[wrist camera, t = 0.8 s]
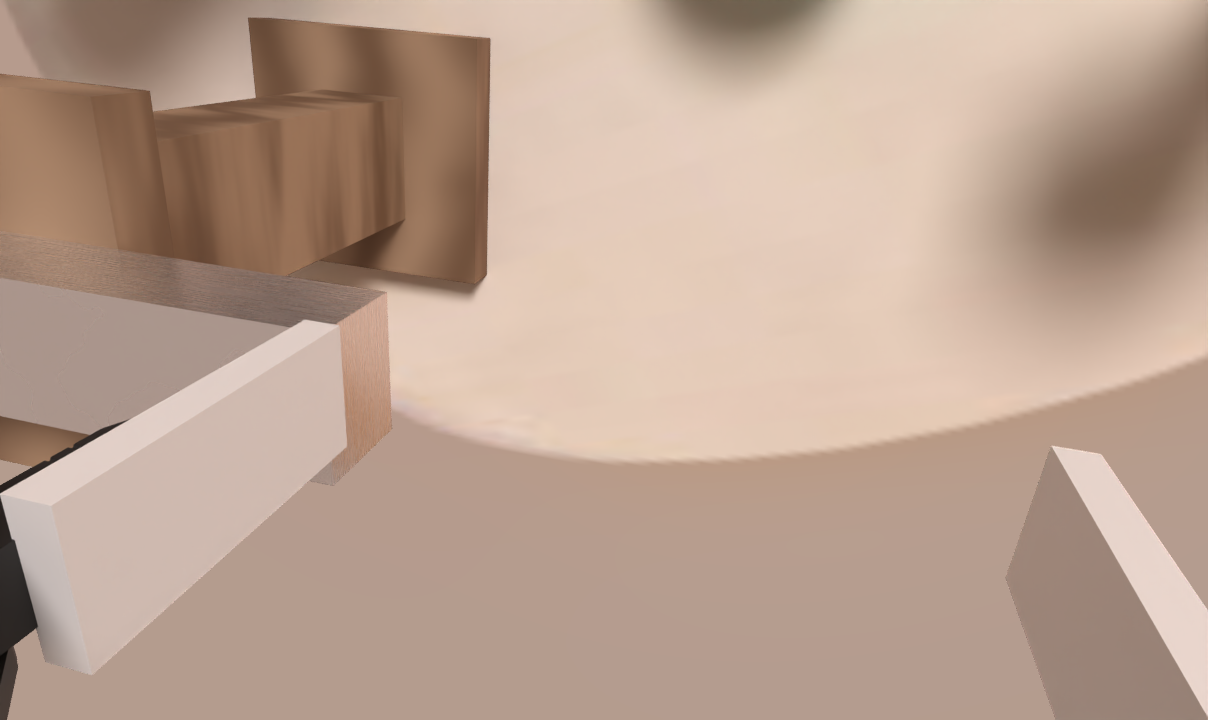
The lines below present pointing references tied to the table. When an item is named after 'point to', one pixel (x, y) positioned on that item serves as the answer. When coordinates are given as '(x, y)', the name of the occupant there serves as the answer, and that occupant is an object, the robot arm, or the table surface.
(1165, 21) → the table surface
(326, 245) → the stand
